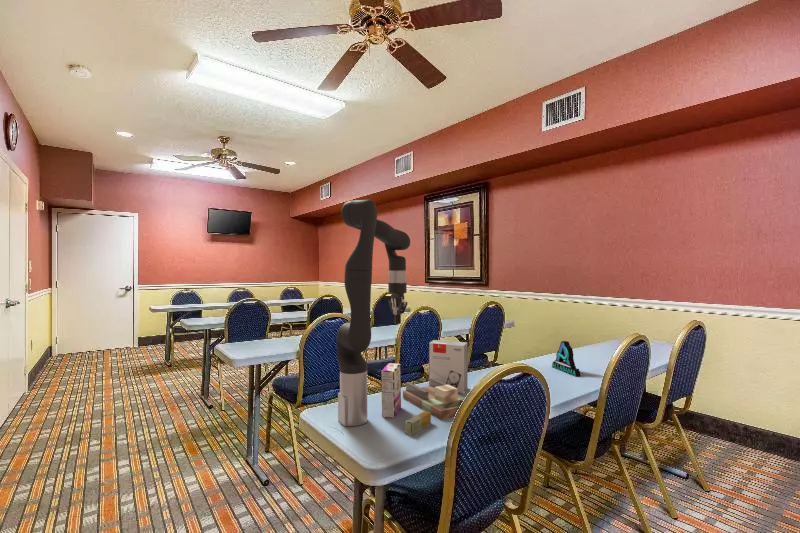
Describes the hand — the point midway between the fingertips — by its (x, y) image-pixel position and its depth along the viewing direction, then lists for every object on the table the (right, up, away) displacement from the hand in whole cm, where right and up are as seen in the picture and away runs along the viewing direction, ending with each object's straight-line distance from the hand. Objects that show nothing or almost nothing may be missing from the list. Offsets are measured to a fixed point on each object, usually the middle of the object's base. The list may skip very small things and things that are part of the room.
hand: (397, 323), depth 165 cm
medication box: (+7, -29, -35) cm, 46 cm away
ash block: (+18, -26, -17) cm, 36 cm away
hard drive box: (+22, -29, +7) cm, 37 cm away
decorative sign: (+83, -29, +33) cm, 93 cm away
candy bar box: (-2, -29, -21) cm, 36 cm away
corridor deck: (+15, -29, -13) cm, 35 cm away
